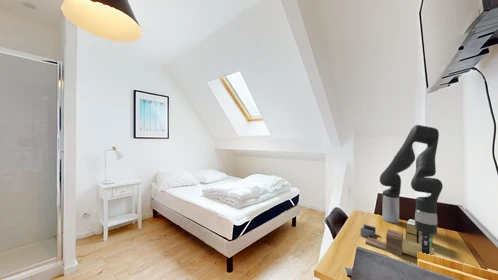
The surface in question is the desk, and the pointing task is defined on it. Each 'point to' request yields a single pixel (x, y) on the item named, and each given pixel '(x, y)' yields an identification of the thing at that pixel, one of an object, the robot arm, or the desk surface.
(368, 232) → the cradle
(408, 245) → the axle bar
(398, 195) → the robot arm
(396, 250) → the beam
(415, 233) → the puzzle cube
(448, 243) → the desk surface
